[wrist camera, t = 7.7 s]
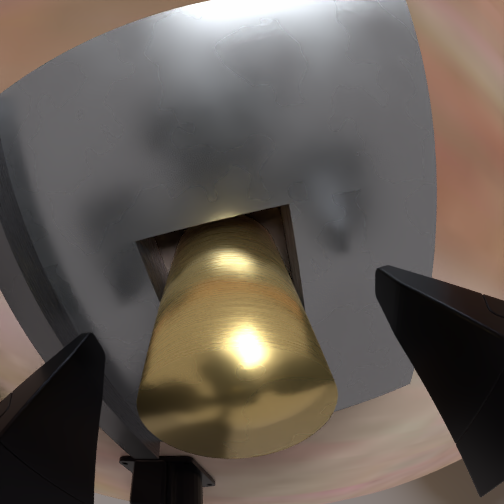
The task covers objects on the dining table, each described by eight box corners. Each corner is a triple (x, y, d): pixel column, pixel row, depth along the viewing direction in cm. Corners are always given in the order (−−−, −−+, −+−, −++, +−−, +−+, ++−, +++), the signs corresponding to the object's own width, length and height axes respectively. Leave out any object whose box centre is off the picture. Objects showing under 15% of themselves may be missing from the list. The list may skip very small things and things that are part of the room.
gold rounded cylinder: (284, 292, 12) (337, 437, 6) (192, 313, 12) (182, 464, 6) (267, 201, 11) (336, 320, 4) (161, 227, 11) (98, 366, 4)
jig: (395, 360, 15) (418, 398, 12) (140, 416, 15) (133, 458, 12) (379, 14, 8) (424, -9, 5) (-1, 115, 8) (-51, 122, 5)
